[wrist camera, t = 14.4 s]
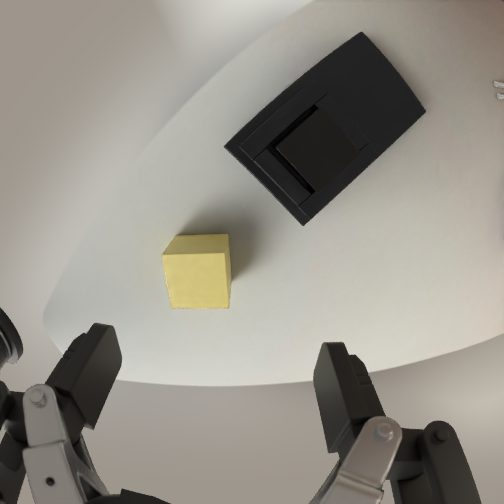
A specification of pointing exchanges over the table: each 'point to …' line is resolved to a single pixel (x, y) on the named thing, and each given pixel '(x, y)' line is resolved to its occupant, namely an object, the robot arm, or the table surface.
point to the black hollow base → (340, 110)
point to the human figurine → (500, 85)
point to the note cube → (198, 271)
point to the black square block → (317, 149)
